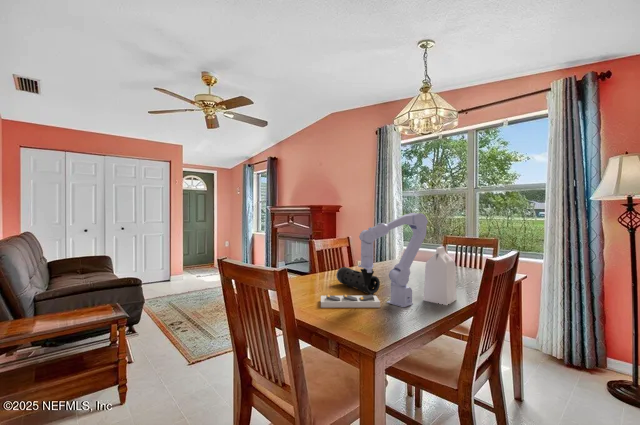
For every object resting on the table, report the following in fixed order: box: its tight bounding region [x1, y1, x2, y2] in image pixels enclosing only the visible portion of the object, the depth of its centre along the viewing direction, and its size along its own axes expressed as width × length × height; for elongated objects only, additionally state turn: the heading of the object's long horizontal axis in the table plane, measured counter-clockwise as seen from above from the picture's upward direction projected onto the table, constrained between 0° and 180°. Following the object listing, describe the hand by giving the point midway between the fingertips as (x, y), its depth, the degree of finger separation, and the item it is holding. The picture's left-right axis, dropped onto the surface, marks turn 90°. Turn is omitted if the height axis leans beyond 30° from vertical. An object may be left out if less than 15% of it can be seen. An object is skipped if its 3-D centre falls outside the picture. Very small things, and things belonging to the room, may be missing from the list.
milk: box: [422, 246, 457, 306], centre depth 151 cm, size 12×12×26 cm
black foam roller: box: [335, 266, 381, 296], centre depth 171 cm, size 10×28×10 cm, turn 32°
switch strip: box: [320, 295, 381, 308], centre depth 145 cm, size 27×10×3 cm, turn 90°
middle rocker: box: [342, 293, 357, 301], centre depth 144 cm, size 6×4×1 cm, turn 90°
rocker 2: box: [360, 294, 374, 301], centre depth 144 cm, size 6×4×1 cm, turn 90°
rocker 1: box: [325, 294, 339, 301], centre depth 144 cm, size 6×4×1 cm, turn 90°
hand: (367, 284), depth 144 cm, fingers closed
